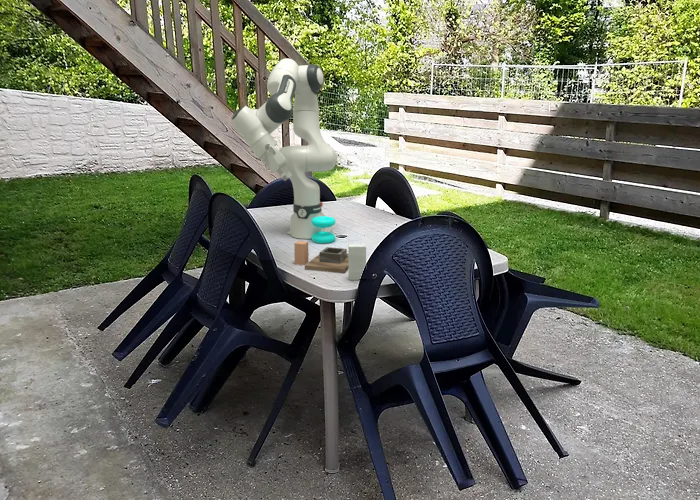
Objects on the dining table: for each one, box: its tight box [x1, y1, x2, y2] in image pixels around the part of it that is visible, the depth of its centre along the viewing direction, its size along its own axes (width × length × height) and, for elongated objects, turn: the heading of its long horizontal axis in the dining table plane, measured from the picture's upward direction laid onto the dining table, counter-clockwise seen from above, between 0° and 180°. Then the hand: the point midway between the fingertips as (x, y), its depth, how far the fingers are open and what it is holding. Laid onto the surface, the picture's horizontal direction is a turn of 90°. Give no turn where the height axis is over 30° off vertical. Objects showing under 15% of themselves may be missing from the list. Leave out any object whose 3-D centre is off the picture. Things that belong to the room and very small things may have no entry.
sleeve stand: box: [304, 246, 349, 274], centre depth 238 cm, size 20×15×5 cm
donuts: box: [311, 215, 336, 244], centre depth 269 cm, size 10×10×10 cm
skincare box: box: [347, 243, 367, 281], centre depth 220 cm, size 6×4×12 cm
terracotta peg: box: [293, 240, 310, 266], centre depth 238 cm, size 4×4×8 cm
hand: (288, 178), depth 232 cm, fingers open, 8 cm apart
